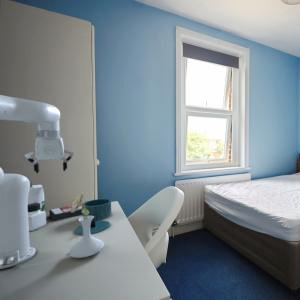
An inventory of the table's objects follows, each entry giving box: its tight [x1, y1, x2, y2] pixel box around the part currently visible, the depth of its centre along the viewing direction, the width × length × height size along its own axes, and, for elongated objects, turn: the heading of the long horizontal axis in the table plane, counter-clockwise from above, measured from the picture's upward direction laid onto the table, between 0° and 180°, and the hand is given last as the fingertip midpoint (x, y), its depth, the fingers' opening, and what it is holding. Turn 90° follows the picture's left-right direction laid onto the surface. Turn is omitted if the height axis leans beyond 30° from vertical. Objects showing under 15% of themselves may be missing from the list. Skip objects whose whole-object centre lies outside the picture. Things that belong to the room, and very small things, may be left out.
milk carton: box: [28, 182, 46, 212], centre depth 111 cm, size 9×9×20 cm
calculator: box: [48, 204, 82, 222], centre depth 118 cm, size 11×4×15 cm
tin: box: [81, 198, 112, 221], centre depth 115 cm, size 14×14×8 cm
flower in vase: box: [68, 191, 105, 259], centre depth 79 cm, size 13×11×25 cm
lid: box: [74, 215, 111, 236], centre depth 101 cm, size 15×15×6 cm
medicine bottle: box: [27, 203, 47, 232], centre depth 102 cm, size 7×7×12 cm
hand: (51, 171), depth 97 cm, fingers open, 9 cm apart
